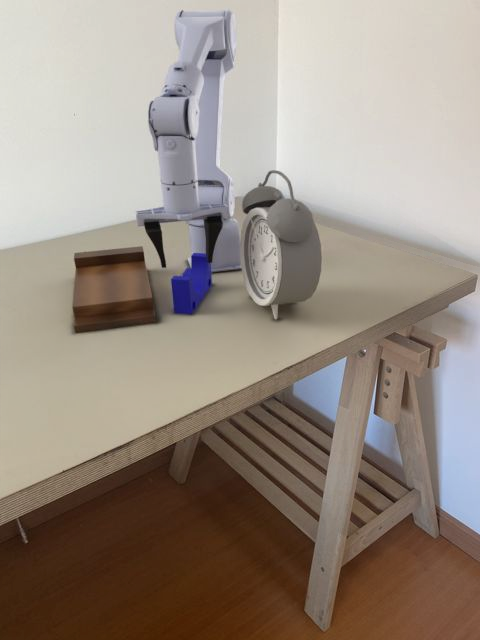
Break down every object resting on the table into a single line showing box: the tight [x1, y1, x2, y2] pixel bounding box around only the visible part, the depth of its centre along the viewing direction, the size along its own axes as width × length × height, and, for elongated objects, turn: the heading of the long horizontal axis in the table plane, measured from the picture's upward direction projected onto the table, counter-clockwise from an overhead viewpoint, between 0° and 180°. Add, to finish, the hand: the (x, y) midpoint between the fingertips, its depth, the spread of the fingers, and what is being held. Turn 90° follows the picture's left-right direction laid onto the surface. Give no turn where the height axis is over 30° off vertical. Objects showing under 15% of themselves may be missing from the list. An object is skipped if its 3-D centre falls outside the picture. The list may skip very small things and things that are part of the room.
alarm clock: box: [240, 169, 323, 320], centre depth 89 cm, size 16×9×22 cm, turn 23°
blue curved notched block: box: [170, 253, 213, 315], centre depth 96 cm, size 12×4×6 cm, turn 168°
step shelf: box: [72, 245, 157, 333], centre depth 97 cm, size 12×23×5 cm, turn 14°
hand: (186, 263), depth 94 cm, fingers open, 7 cm apart
